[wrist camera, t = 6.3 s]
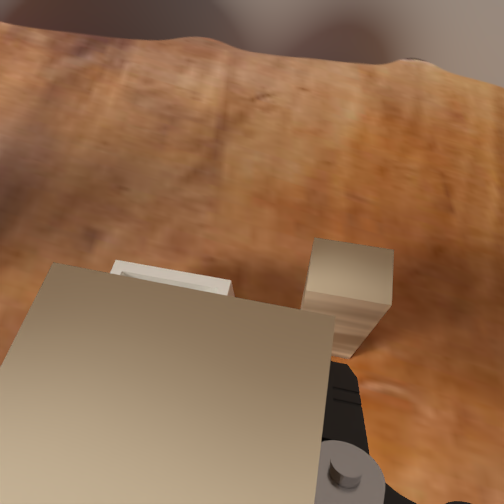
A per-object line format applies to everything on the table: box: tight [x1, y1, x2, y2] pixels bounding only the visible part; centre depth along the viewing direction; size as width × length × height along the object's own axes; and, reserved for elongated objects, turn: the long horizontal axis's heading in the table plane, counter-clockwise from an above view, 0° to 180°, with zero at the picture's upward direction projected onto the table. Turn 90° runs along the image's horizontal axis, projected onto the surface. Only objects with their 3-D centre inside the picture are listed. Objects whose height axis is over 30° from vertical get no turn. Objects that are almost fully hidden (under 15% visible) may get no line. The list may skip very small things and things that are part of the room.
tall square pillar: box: [0, 262, 336, 504], centre depth 9 cm, size 3×4×11 cm
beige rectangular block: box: [300, 237, 394, 359], centre depth 23 cm, size 3×4×11 cm
